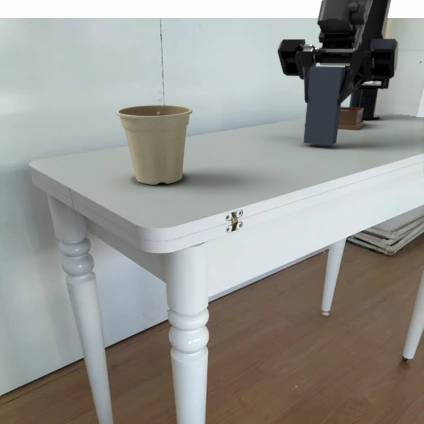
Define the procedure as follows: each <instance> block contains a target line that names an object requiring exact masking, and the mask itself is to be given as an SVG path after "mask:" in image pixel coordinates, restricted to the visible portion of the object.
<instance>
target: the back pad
mask: <svg viewBox="0 0 424 424" xmlns="http://www.w3.org/2000/svg"><path fill="white" fill-rule="evenodd" d="M345 70H346V67H345V66H325V65H319V66H318V65H316V66H314V67H310V77H309V88H308V100H307V103H306V110H305V111H306V112H305V123H304V134H303V144H310V145H321V146H331V147H332V146H334V145H335V144H337V139H338V132H339V128H338V125H339V117H340V109H341V107H342V103H341V104H340V105H338V103H337V99H338V95H339V92H340V89H341V87H342V84H343V82H344V78H345Z"/></svg>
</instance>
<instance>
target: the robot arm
mask: <svg viewBox="0 0 424 424" xmlns="http://www.w3.org/2000/svg"><path fill="white" fill-rule="evenodd" d="M391 2H392V0H321V2H320V7H319V12H318V17H317V22H316V25H317V26H318V27H319V30H320V31H319V34H318V36H317V37H318V43H319V44H321V47H316V46H315V45H313V44H311V43H307V44H306V39H305V38H294V39H293V38H285V39H284V38H283V39H282V40H281V41H280V43H279V45H278V47H277V55H278V60H279V63H280V68H281V71H282V74H283V75H284V76H286V77H299V80H302V81H303V87H304V88H303V91H304V92H303V95H304V102H305V104H307V100H308V88H309V77H310V67H314V66H318V65H317V64H319V66H328V67H346V70H345V78H344V82H343V84H342V87H341V89H340V92H339V95H338V99H337V103H338V105H340V104H341V105H342V104H343V103H344V102H345V101H346V100H347V99H348V98H349V97H350V98H349V105H348V107H358V108H363V115H362V120H380V119H381V116H380V115H378V114H375V113H376V107H377V101H378V96H379V90H388V89H389V86H390V80H391V79H393V78H394V77H395V74H396V71H397V66H398V57H399V42H398V40H397V39H396V38H384V36H385V31H386V26H387V22H388V17H389V13H390V8H391ZM371 82H378V83H371ZM379 82H380V83H379Z"/></svg>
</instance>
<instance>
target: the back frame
mask: <svg viewBox="0 0 424 424" xmlns="http://www.w3.org/2000/svg"><path fill="white" fill-rule="evenodd" d="M362 115H363V108H358V107H349V106H341V109H340V117H339V125H338V130H339V129H341V130H354V131H357V130H359V129H360V128H361V127H362V126H364V125H365V120H366V119H362Z"/></svg>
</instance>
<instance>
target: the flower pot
mask: <svg viewBox="0 0 424 424" xmlns="http://www.w3.org/2000/svg"><path fill="white" fill-rule="evenodd" d="M192 113H193V108H191V107H189V106H184V105H177V104H176V105H175V104H145V105H143V104H141V105H131V106H126V107H122V108H119V109H117V110H116V111H115V114H116V116H118V117H119V120H120V124H121V126H122V128H123V130H124V133H125V138H126V142H127V146H128V150H129V154H130V159H131V163H132V167H133V172H134V177H135V179H136V181H138V182H139V183H141V184H146V185H152V186H155V185H158V184H160V183H165V184H166V185H170V184H174V183H176V182H178V181H181V180H182V178H183V174H184V171H183V170H184V159H185V148H186V138H187V129H188V128H187V127H188V126H189V124H190V115H192Z"/></svg>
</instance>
